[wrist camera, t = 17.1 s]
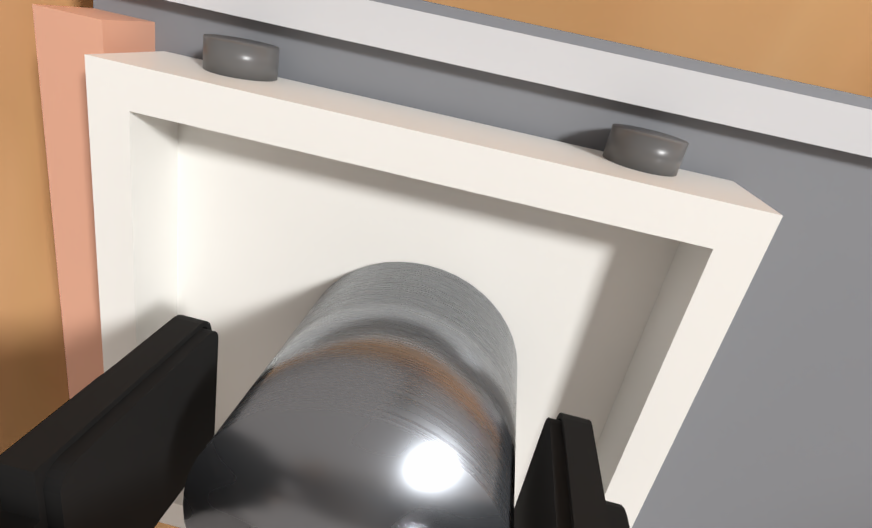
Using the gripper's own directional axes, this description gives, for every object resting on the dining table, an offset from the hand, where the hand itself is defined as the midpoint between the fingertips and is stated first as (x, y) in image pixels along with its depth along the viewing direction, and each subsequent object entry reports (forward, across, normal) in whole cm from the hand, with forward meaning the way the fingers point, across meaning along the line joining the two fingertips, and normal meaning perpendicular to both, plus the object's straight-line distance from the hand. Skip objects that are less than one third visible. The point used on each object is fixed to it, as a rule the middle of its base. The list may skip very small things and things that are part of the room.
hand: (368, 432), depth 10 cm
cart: (+3, 0, 0) cm, 3 cm away
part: (+3, 0, 0) cm, 3 cm away
